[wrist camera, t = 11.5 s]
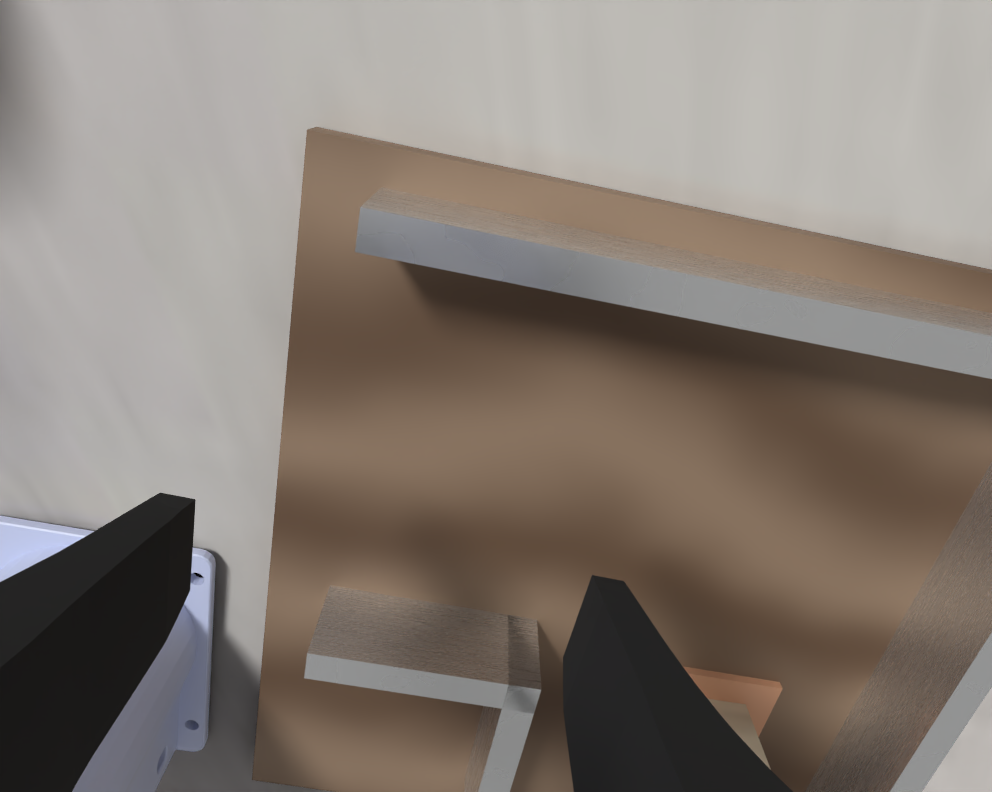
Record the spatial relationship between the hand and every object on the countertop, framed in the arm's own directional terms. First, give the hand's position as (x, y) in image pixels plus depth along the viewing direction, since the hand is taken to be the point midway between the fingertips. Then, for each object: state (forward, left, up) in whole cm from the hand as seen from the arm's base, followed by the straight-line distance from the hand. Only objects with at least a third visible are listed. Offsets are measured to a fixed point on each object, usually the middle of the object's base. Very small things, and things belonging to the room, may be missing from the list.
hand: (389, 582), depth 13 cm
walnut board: (-6, -8, -9) cm, 13 cm away
